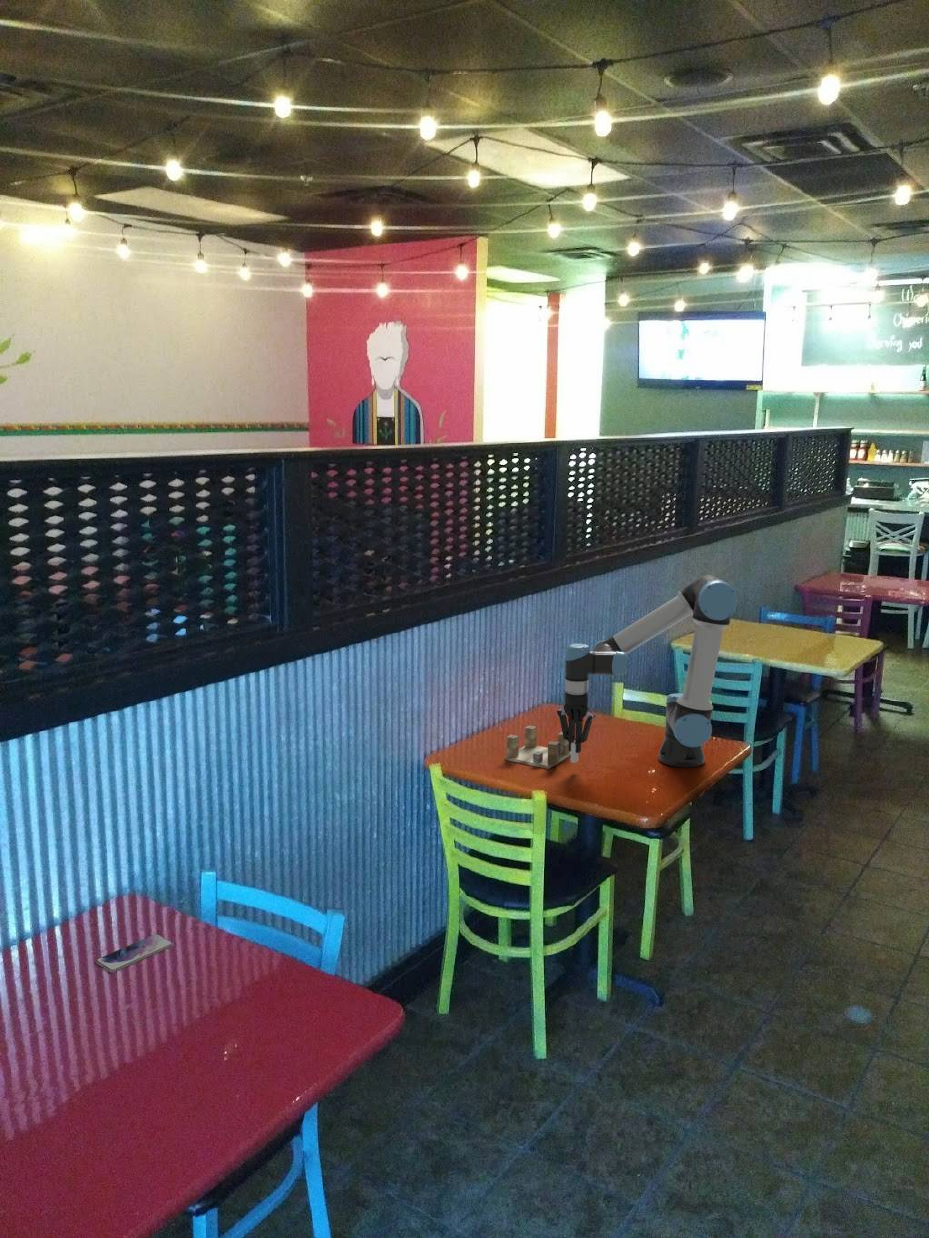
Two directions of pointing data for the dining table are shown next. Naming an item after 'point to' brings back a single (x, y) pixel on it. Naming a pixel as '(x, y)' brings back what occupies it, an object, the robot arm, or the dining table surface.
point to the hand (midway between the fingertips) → (574, 761)
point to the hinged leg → (554, 752)
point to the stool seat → (533, 749)
